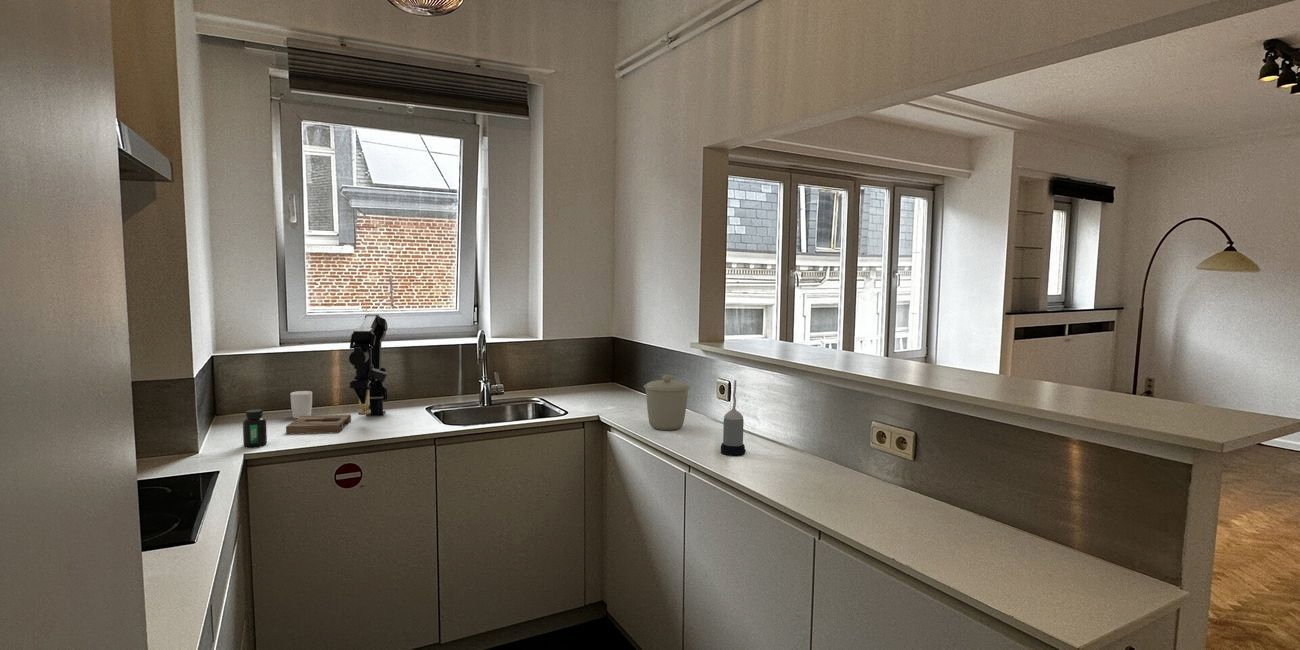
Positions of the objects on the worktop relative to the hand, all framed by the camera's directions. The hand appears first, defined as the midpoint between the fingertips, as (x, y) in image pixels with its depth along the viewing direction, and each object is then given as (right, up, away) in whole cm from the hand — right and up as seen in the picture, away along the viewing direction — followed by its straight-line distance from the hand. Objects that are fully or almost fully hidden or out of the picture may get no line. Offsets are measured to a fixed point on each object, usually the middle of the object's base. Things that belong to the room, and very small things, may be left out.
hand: (364, 402), depth 251 cm
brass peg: (0, -4, 0) cm, 4 cm away
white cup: (-32, -8, +15) cm, 36 cm away
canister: (+116, -11, +6) cm, 117 cm away
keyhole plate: (-16, -9, -2) cm, 18 cm away
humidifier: (+138, -14, -29) cm, 142 cm away
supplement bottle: (-25, -11, -29) cm, 39 cm away
